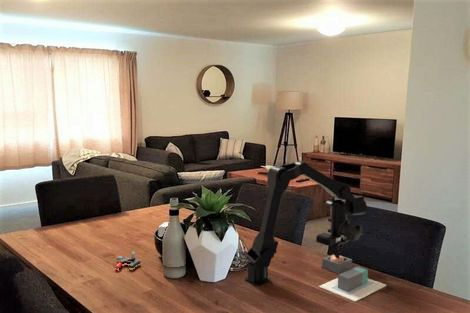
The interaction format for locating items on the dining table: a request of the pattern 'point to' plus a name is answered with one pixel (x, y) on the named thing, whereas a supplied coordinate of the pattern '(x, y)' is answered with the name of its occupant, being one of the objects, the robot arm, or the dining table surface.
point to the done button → (337, 259)
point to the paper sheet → (355, 293)
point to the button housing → (337, 265)
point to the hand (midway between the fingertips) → (337, 257)
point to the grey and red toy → (127, 261)
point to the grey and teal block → (352, 279)
